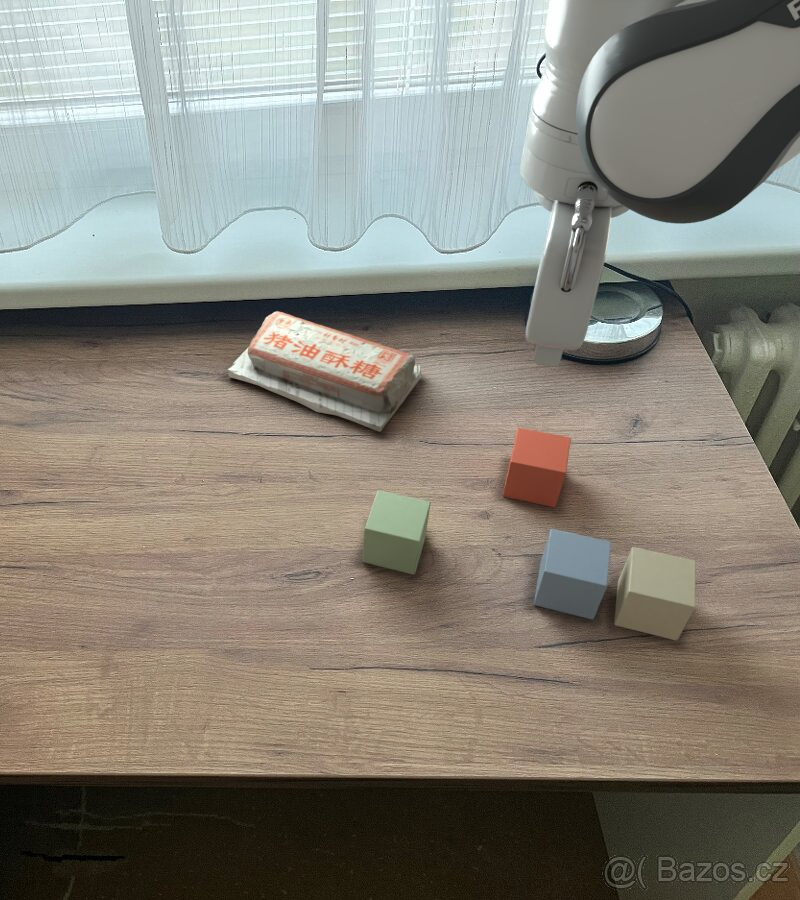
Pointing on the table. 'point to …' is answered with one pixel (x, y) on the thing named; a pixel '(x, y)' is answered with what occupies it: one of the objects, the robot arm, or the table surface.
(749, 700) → the table surface
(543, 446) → the coral block
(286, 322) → the packaged product
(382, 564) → the sage block
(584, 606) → the blue-grey block
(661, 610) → the cream block
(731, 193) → the robot arm
